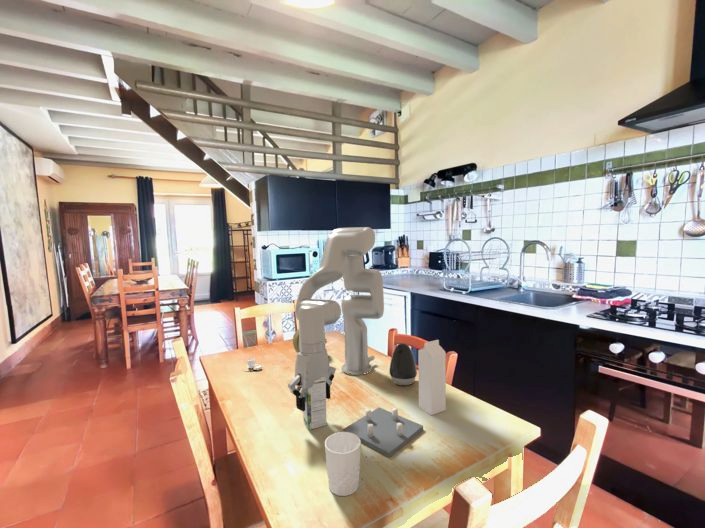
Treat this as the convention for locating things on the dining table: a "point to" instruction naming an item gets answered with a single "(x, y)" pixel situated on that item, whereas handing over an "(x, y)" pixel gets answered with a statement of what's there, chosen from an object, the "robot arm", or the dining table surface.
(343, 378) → the dining table surface
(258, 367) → the pacifier
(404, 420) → the standoff base
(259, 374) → the dining table surface
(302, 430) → the dining table surface
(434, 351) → the milk
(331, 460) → the white cup
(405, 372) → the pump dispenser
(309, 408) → the syrup box
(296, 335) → the cantaloupe
